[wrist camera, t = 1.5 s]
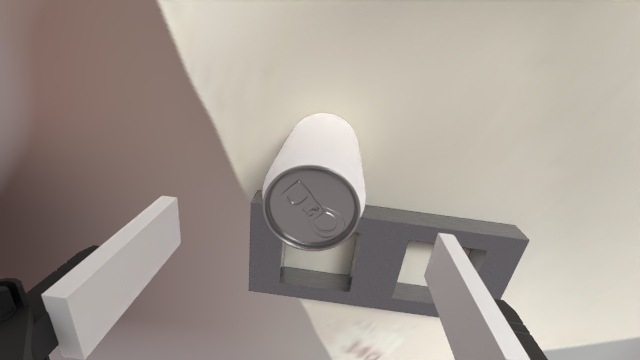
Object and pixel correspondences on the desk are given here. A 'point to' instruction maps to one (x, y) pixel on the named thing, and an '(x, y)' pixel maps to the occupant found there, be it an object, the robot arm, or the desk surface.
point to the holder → (384, 259)
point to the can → (315, 185)
